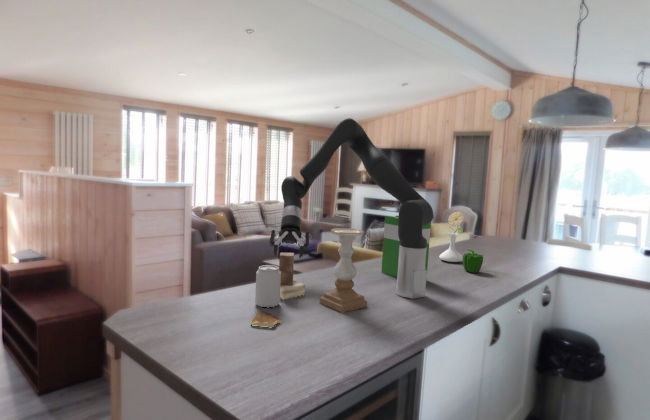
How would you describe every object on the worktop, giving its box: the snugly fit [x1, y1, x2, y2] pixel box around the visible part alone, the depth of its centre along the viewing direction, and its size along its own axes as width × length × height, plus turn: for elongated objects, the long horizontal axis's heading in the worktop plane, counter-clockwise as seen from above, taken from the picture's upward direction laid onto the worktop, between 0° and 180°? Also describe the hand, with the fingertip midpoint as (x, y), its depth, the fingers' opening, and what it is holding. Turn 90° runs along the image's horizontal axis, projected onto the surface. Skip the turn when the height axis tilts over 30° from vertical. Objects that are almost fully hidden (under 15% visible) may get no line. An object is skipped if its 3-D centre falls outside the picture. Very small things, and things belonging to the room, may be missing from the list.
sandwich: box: [250, 308, 282, 328], centre depth 116 cm, size 11×8×2 cm
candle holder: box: [319, 227, 368, 313], centre depth 131 cm, size 11×11×24 cm
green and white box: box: [380, 215, 432, 281], centre depth 171 cm, size 18×7×24 cm, turn 39°
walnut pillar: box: [278, 251, 295, 285], centre depth 140 cm, size 4×4×10 cm
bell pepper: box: [462, 248, 484, 274], centre depth 186 cm, size 8×8×10 cm
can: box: [254, 264, 281, 309], centre depth 128 cm, size 8×8×12 cm
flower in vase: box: [438, 211, 465, 263], centre depth 204 cm, size 13×11×25 cm
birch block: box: [280, 280, 306, 301], centre depth 140 cm, size 9×9×4 cm
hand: (288, 256), depth 149 cm, fingers open, 8 cm apart
